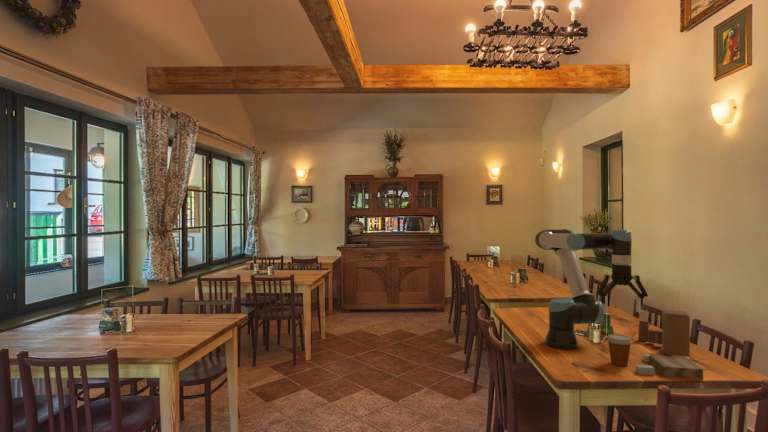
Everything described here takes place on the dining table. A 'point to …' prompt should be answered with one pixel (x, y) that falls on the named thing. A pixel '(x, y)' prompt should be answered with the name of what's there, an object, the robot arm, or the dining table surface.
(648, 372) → the brick bluegrey
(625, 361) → the disposable coffee cup
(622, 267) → the robot arm
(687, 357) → the brick terracotta
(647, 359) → the brick sage
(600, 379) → the dining table surface
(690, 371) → the walnut slab
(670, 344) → the wooden block
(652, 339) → the wooden block set
